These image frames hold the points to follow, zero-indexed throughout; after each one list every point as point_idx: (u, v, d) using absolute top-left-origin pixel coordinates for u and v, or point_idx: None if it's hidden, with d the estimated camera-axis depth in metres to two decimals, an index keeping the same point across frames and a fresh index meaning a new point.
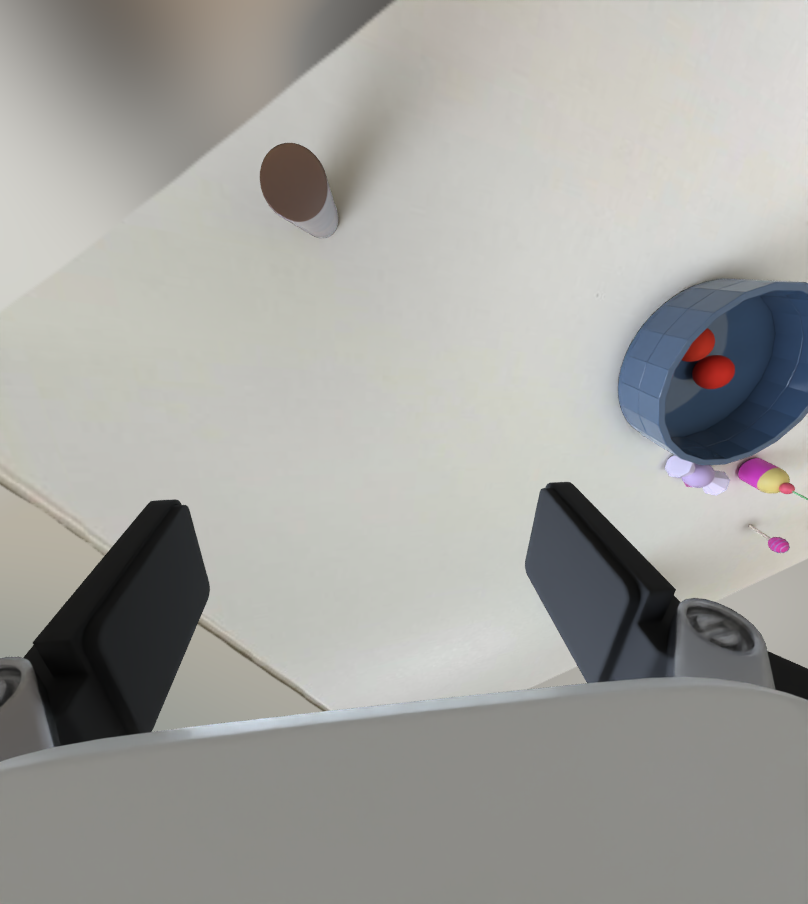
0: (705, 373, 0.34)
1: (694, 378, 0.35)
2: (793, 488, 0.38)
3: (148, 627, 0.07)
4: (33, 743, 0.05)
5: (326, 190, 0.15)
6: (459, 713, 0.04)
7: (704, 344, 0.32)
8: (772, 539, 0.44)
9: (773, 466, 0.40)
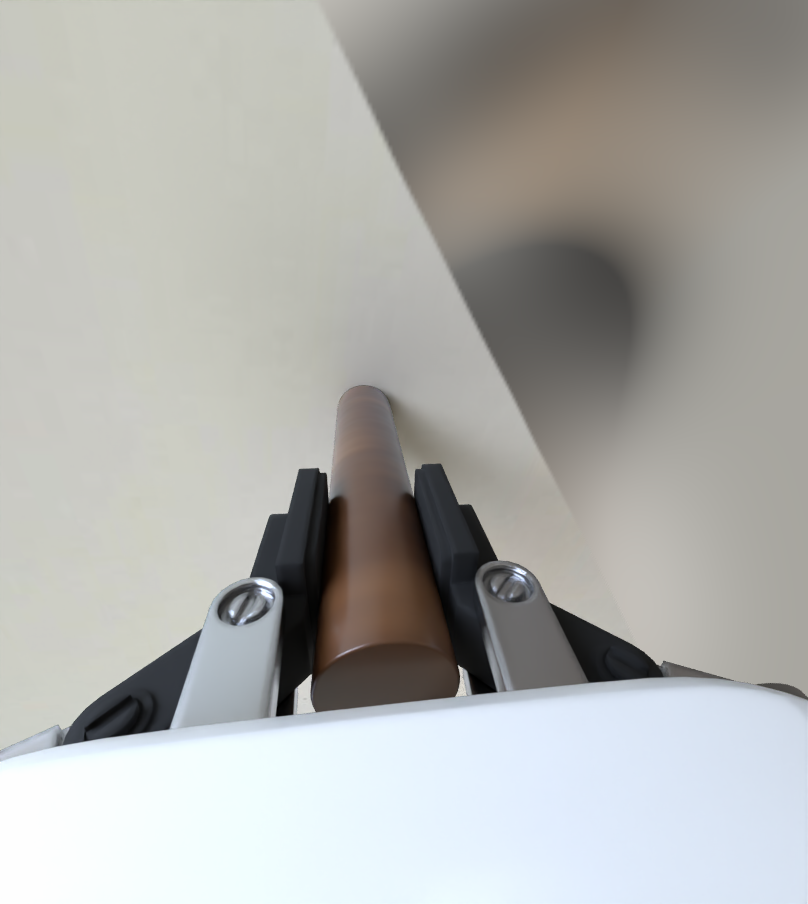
0: None
1: None
2: None
3: None
4: (264, 666, 0.06)
5: None
6: (459, 713, 0.04)
7: None
8: None
9: None
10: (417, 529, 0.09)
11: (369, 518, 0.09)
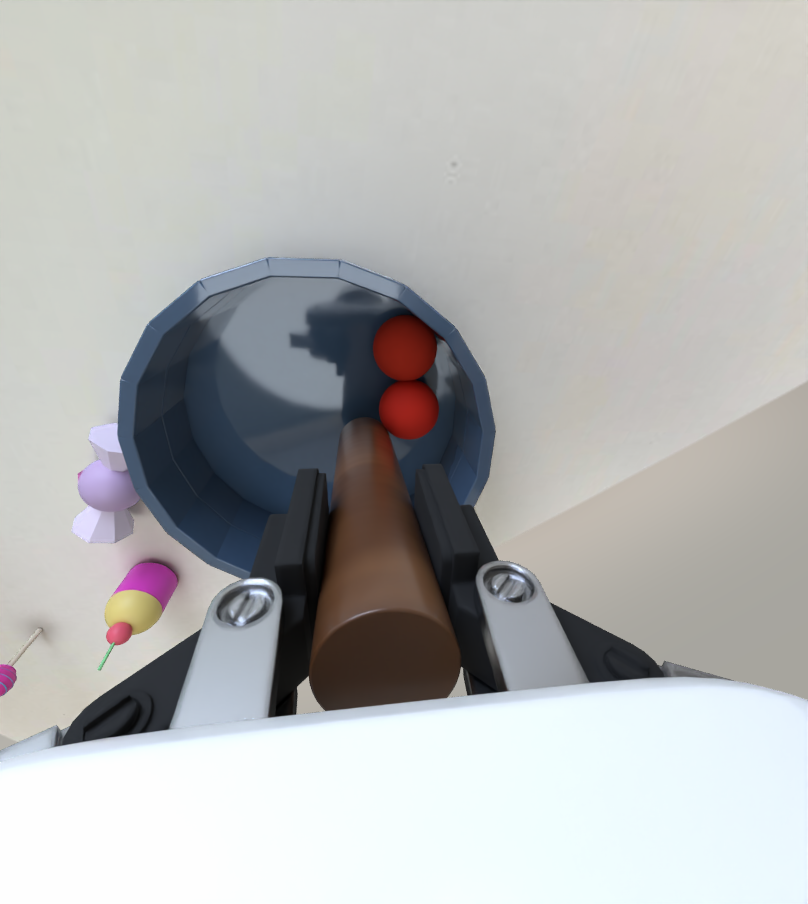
0: None
1: (416, 380, 0.19)
2: (120, 641, 0.21)
3: None
4: (263, 667, 0.06)
5: None
6: (459, 713, 0.04)
7: (435, 343, 0.18)
8: (6, 668, 0.23)
9: (163, 602, 0.23)
10: (421, 534, 0.10)
11: (378, 514, 0.09)
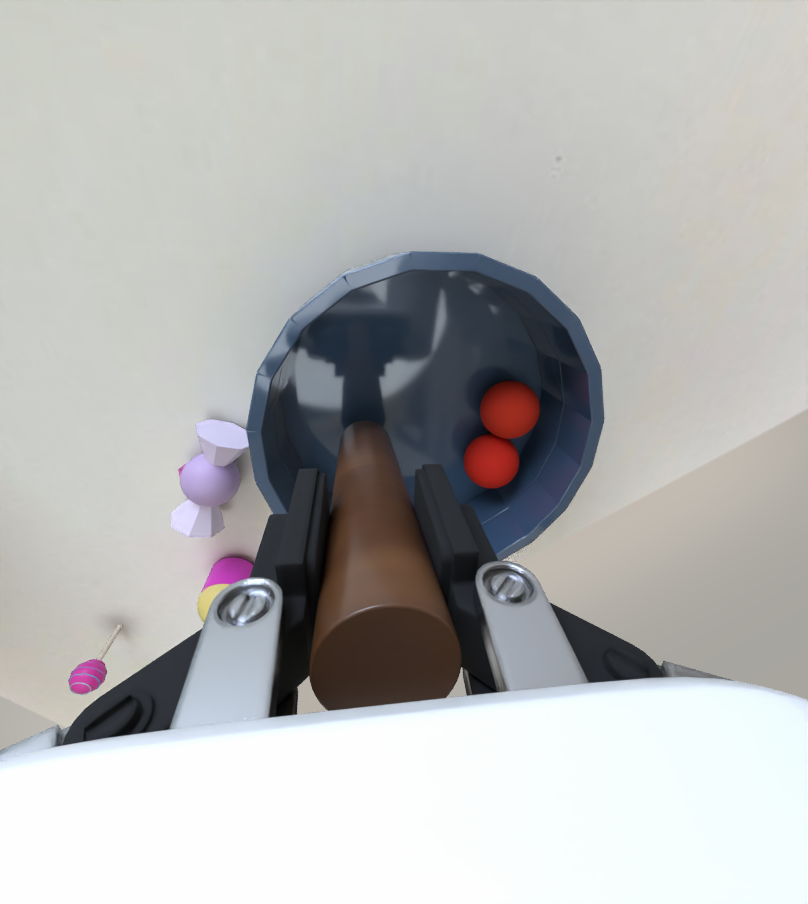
0: (498, 443, 0.20)
1: (515, 458, 0.20)
2: None
3: (322, 568, 0.09)
4: (264, 666, 0.06)
5: None
6: (459, 713, 0.04)
7: (535, 419, 0.19)
8: (98, 663, 0.23)
9: None
10: (421, 534, 0.10)
11: (379, 514, 0.09)
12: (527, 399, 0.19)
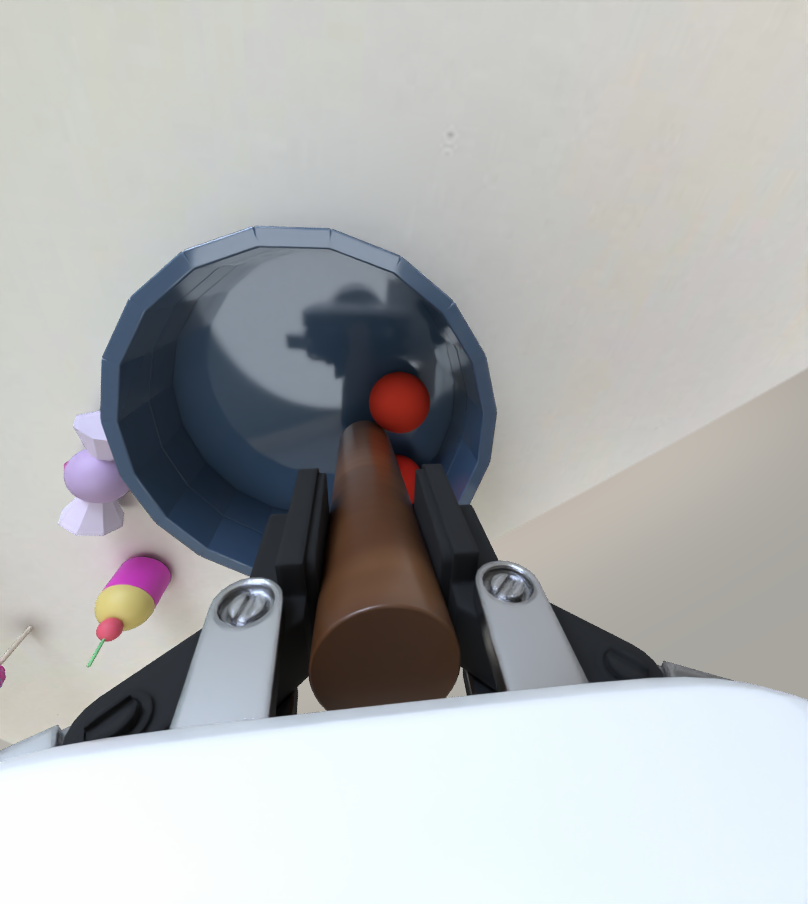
0: None
1: None
2: (111, 637, 0.20)
3: None
4: (263, 667, 0.06)
5: None
6: (459, 713, 0.04)
7: (411, 416, 0.18)
8: None
9: (156, 597, 0.22)
10: (421, 535, 0.10)
11: (379, 513, 0.09)
12: (398, 391, 0.18)
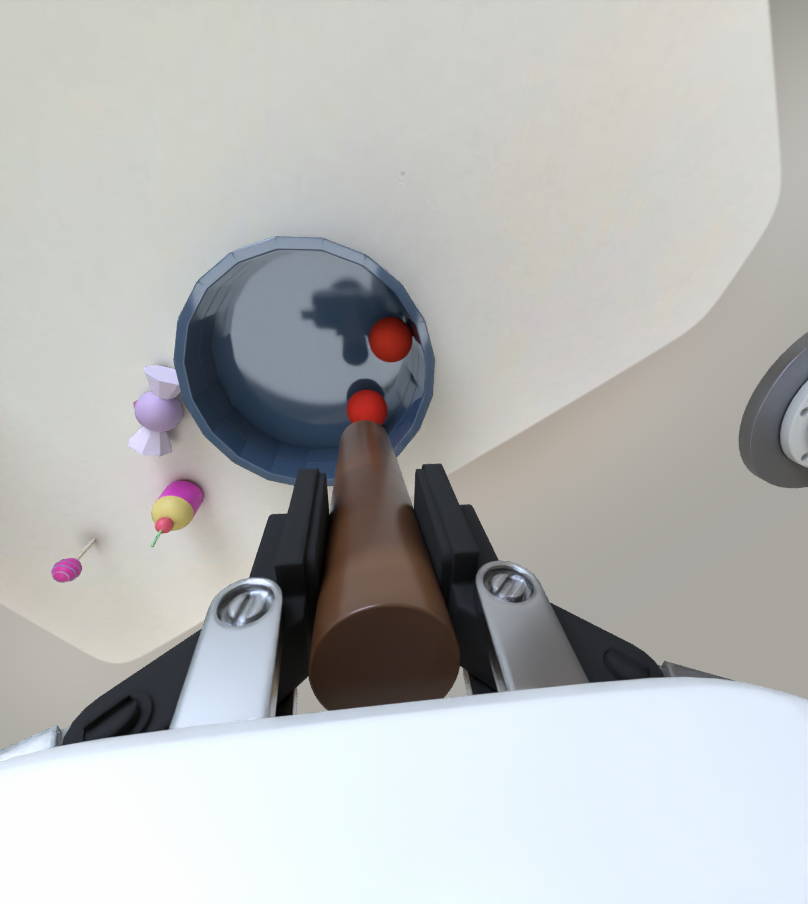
0: (368, 414, 0.27)
1: None
2: (166, 530, 0.28)
3: None
4: (263, 667, 0.06)
5: None
6: (459, 713, 0.04)
7: (409, 330, 0.26)
8: (74, 560, 0.30)
9: (194, 508, 0.30)
10: (421, 534, 0.10)
11: (379, 513, 0.09)
12: None
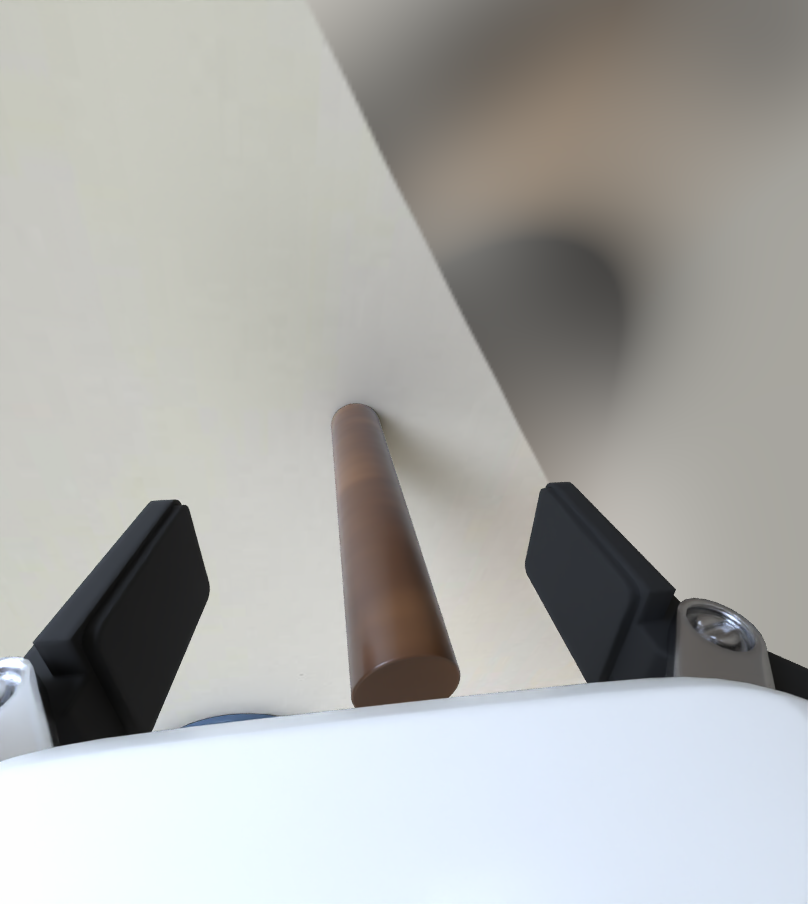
0: None
1: None
2: None
3: (147, 628, 0.07)
4: (33, 743, 0.05)
5: None
6: (459, 713, 0.04)
7: None
8: None
9: None
10: (422, 558, 0.12)
11: (389, 548, 0.11)
12: None
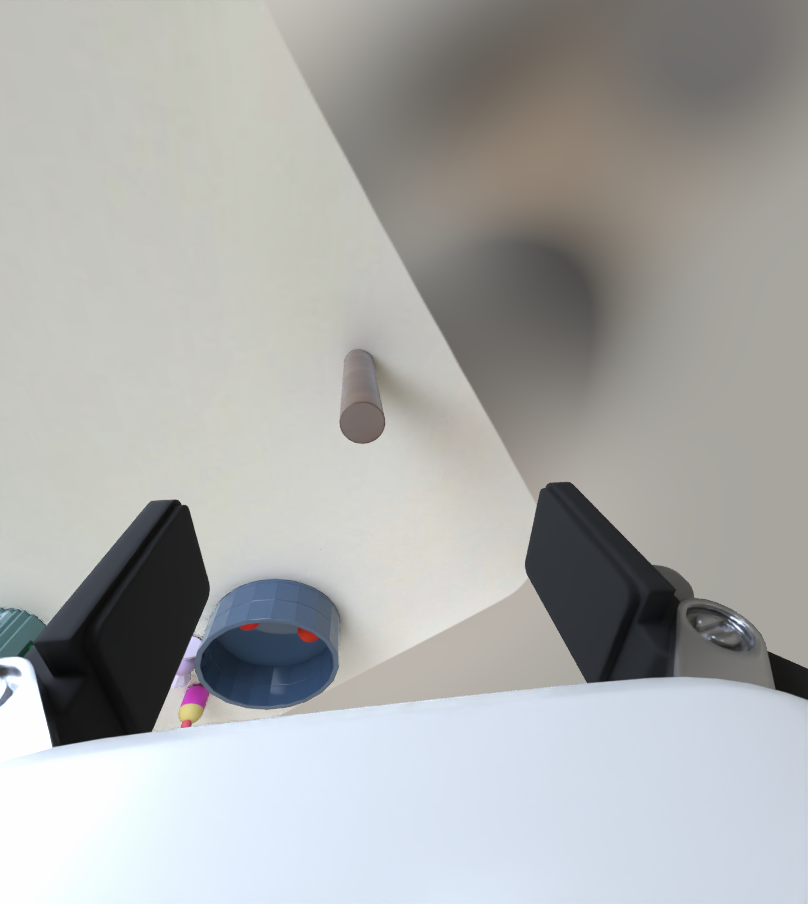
0: None
1: (251, 629, 0.43)
2: None
3: (147, 627, 0.07)
4: (33, 743, 0.05)
5: (356, 442, 0.23)
6: (459, 713, 0.04)
7: None
8: None
9: (204, 706, 0.49)
10: (379, 394, 0.25)
11: (362, 384, 0.25)
12: None
